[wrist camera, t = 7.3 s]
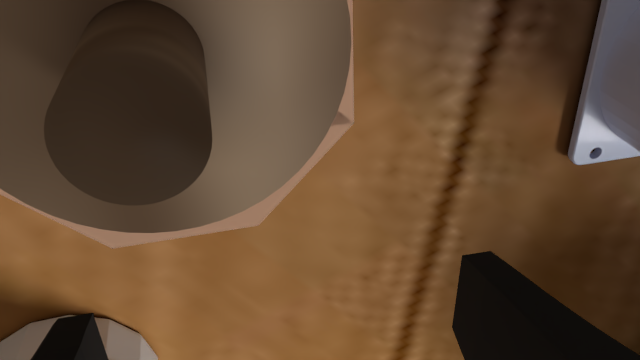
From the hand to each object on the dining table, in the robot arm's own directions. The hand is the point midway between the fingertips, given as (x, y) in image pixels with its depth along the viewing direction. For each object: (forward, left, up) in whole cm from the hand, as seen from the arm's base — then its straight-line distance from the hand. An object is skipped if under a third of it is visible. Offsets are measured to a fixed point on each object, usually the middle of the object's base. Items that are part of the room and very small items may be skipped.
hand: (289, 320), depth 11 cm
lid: (+2, -4, -6) cm, 8 cm away
